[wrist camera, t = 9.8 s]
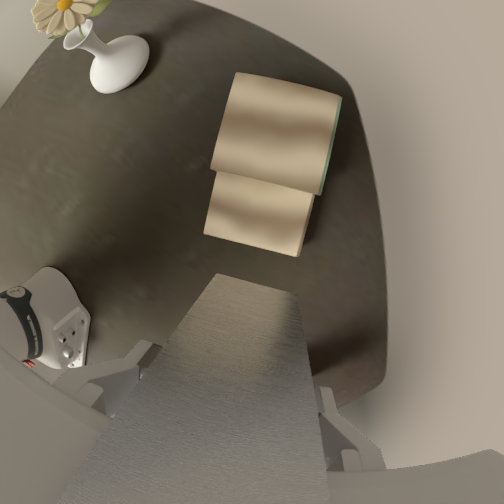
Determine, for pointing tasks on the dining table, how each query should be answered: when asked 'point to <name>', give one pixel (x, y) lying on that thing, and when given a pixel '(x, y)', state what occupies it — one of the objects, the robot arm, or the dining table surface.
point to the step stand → (270, 162)
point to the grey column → (216, 412)
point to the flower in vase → (93, 41)
